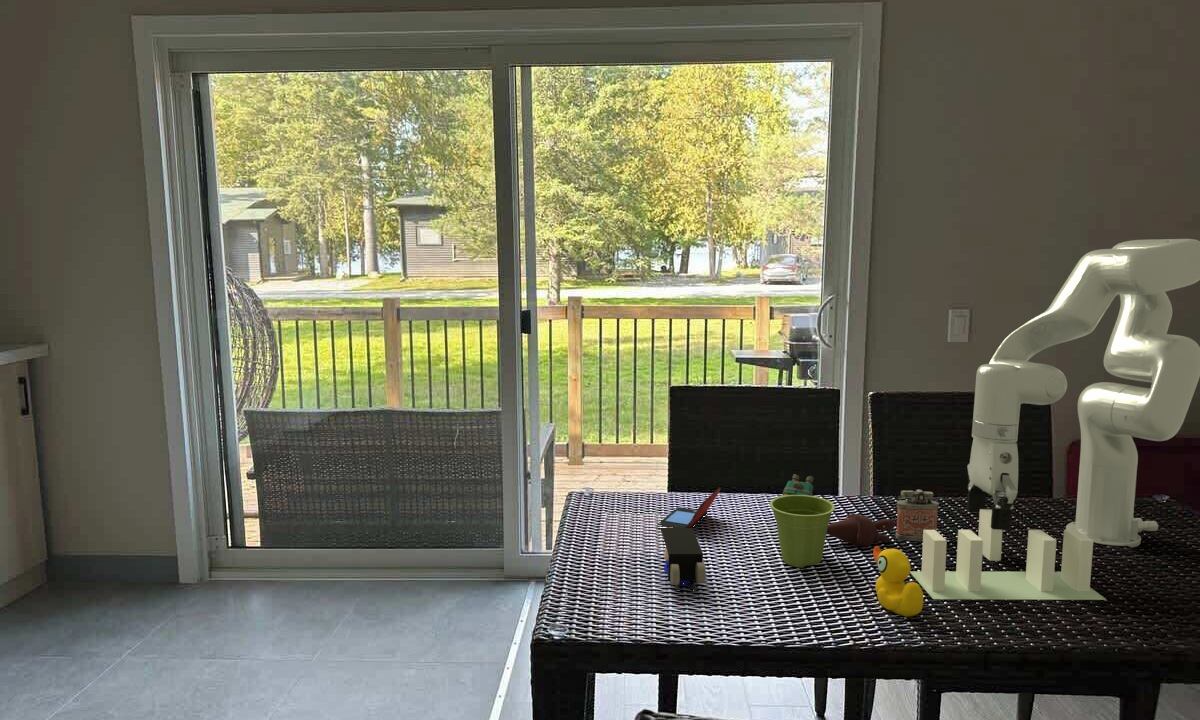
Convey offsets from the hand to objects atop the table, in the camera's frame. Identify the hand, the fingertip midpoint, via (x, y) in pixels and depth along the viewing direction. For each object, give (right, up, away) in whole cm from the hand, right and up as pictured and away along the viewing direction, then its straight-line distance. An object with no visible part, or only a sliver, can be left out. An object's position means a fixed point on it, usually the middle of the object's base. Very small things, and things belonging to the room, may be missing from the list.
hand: (987, 519), depth 141 cm
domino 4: (+3, -9, -12) cm, 15 cm away
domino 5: (+9, -9, -12) cm, 17 cm away
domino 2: (-9, -9, -11) cm, 17 cm away
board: (-3, -10, -11) cm, 15 cm away
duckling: (-25, -11, -18) cm, 33 cm away
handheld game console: (-53, -6, +24) cm, 59 cm away
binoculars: (-30, -6, +24) cm, 38 cm away
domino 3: (+1, -8, +1) cm, 8 cm away
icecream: (-22, -7, +9) cm, 25 cm away
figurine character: (-58, -10, -5) cm, 59 cm away
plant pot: (-35, -9, +2) cm, 36 cm away
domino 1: (-15, -9, -11) cm, 21 cm away
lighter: (-8, -7, +13) cm, 16 cm away
